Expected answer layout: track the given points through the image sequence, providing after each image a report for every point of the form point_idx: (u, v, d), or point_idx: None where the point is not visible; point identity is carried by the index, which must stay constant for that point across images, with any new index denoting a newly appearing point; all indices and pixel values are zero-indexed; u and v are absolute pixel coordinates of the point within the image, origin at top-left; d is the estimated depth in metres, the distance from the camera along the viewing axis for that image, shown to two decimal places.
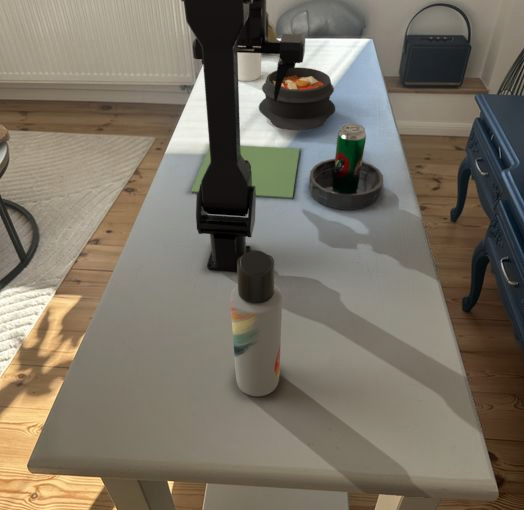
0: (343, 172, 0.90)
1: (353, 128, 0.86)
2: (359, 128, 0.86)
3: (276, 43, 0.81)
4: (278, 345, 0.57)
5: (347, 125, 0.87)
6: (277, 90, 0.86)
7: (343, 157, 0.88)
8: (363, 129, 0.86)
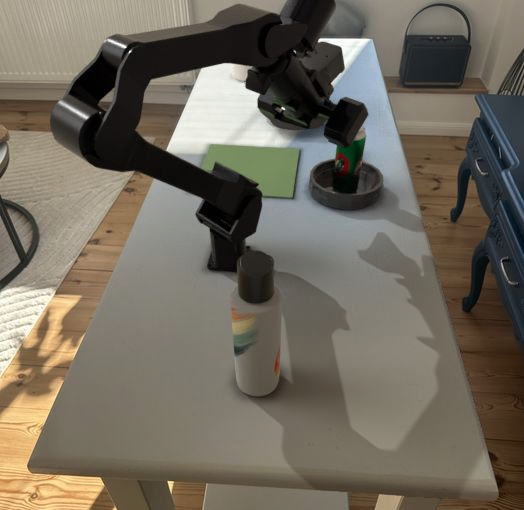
0: (343, 172, 0.90)
1: None
2: None
3: (328, 116, 0.72)
4: (278, 345, 0.57)
5: None
6: None
7: (343, 157, 0.88)
8: (363, 129, 0.86)
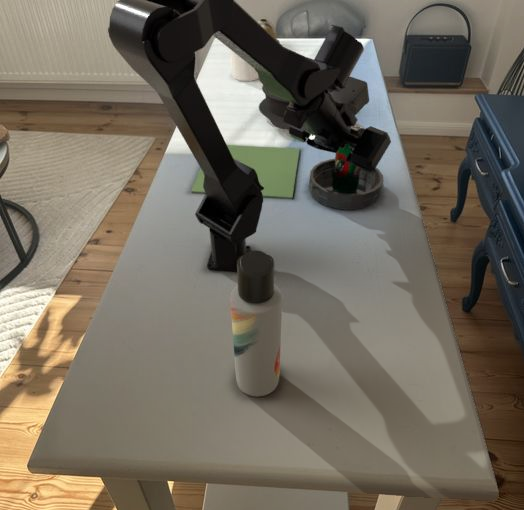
0: (343, 172, 0.90)
1: (353, 128, 0.86)
2: (359, 128, 0.86)
3: (354, 143, 0.81)
4: (278, 345, 0.57)
5: None
6: None
7: (343, 157, 0.88)
8: None
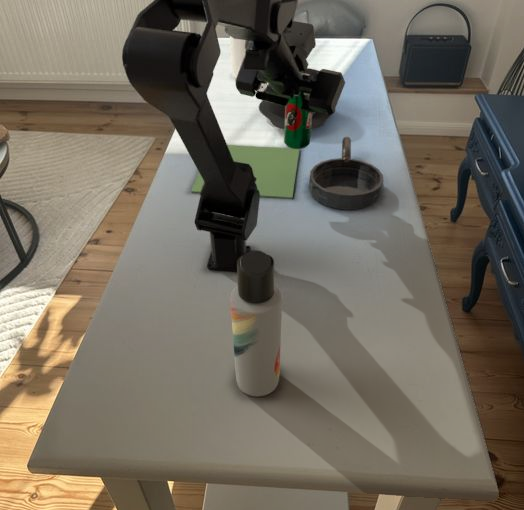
0: (296, 124, 0.88)
1: None
2: None
3: (309, 88, 0.79)
4: (278, 345, 0.57)
5: None
6: (311, 111, 0.87)
7: (295, 108, 0.86)
8: None
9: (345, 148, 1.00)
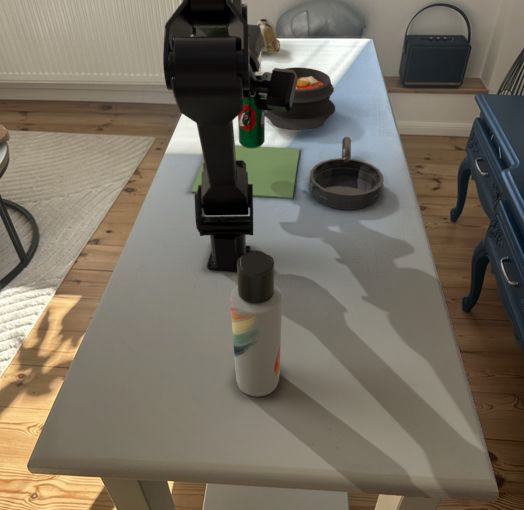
0: (251, 124, 0.90)
1: None
2: None
3: (265, 88, 0.81)
4: (278, 345, 0.57)
5: None
6: (265, 110, 0.89)
7: (249, 108, 0.88)
8: None
9: (345, 148, 1.00)
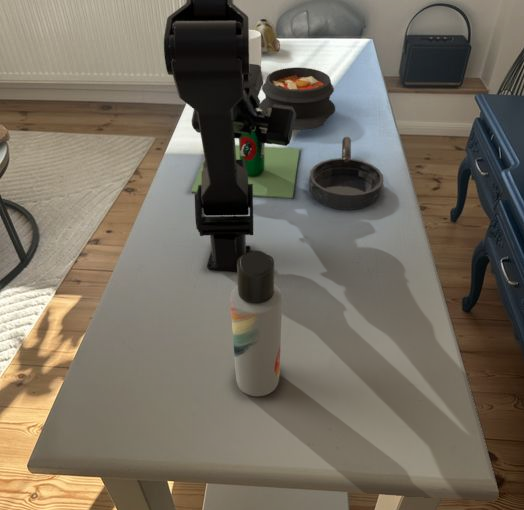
0: (251, 154, 0.94)
1: None
2: (256, 110, 0.91)
3: (265, 123, 0.86)
4: (278, 345, 0.57)
5: None
6: None
7: (249, 140, 0.92)
8: (260, 110, 0.91)
9: (345, 148, 1.00)
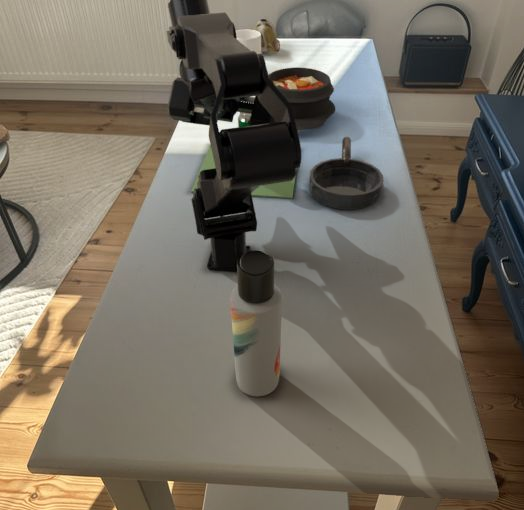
0: None
1: None
2: None
3: (249, 109, 0.77)
4: (278, 345, 0.57)
5: None
6: None
7: None
8: None
9: (345, 148, 1.00)
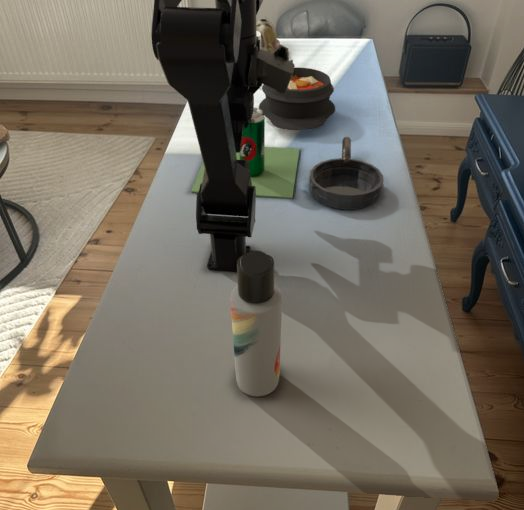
0: (251, 154, 0.94)
1: None
2: (256, 110, 0.91)
3: None
4: (278, 345, 0.57)
5: None
6: None
7: (249, 140, 0.92)
8: (260, 110, 0.91)
9: (345, 148, 1.00)
